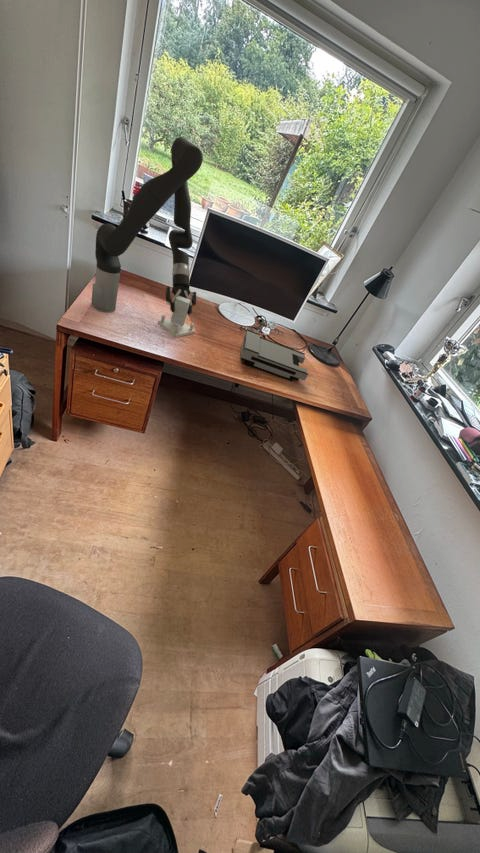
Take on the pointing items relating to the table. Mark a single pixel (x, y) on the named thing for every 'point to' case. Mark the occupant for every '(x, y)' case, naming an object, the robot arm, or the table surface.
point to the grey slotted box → (272, 357)
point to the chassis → (176, 327)
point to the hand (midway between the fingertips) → (181, 313)
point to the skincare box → (180, 311)
